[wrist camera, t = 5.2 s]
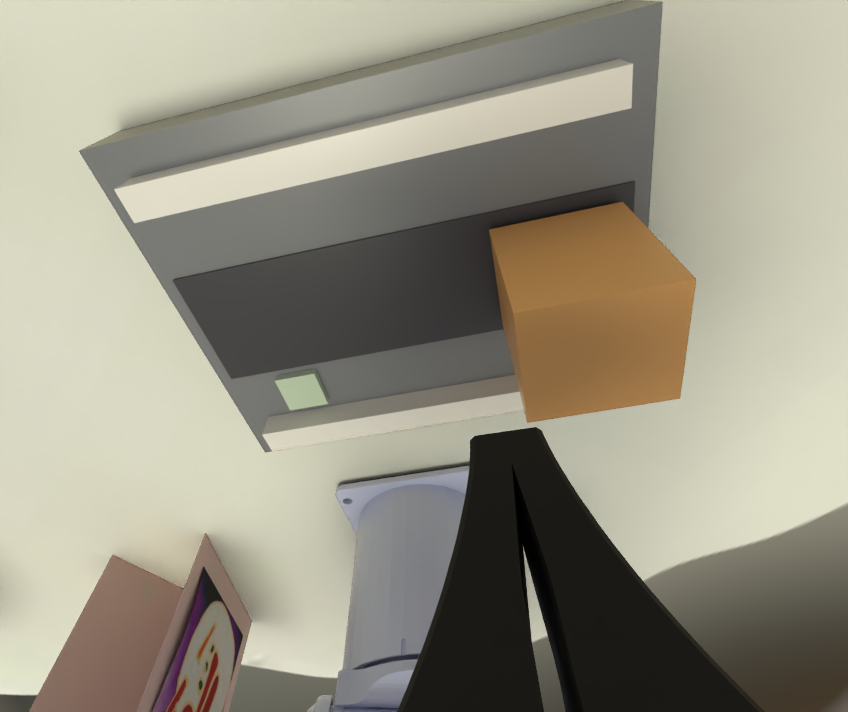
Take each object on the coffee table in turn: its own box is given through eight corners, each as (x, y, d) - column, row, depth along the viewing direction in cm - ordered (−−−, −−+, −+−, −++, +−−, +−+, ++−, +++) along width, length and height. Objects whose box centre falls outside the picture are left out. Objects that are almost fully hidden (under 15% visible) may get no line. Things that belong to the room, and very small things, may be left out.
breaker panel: (618, 355, 22) (647, 409, 19) (277, 414, 23) (259, 470, 21) (628, -1, 14) (680, 2, 11) (119, 130, 16) (58, 161, 13)
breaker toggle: (619, 303, 17) (680, 398, 13) (502, 325, 17) (527, 422, 13) (622, 201, 14) (696, 279, 11) (489, 229, 15) (513, 313, 11)
